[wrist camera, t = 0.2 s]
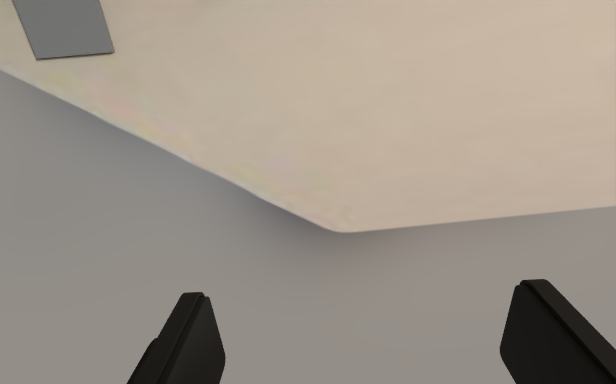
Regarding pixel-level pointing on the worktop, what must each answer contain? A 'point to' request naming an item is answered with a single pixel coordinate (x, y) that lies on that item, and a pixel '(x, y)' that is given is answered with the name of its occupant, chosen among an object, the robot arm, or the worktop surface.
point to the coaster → (64, 27)
